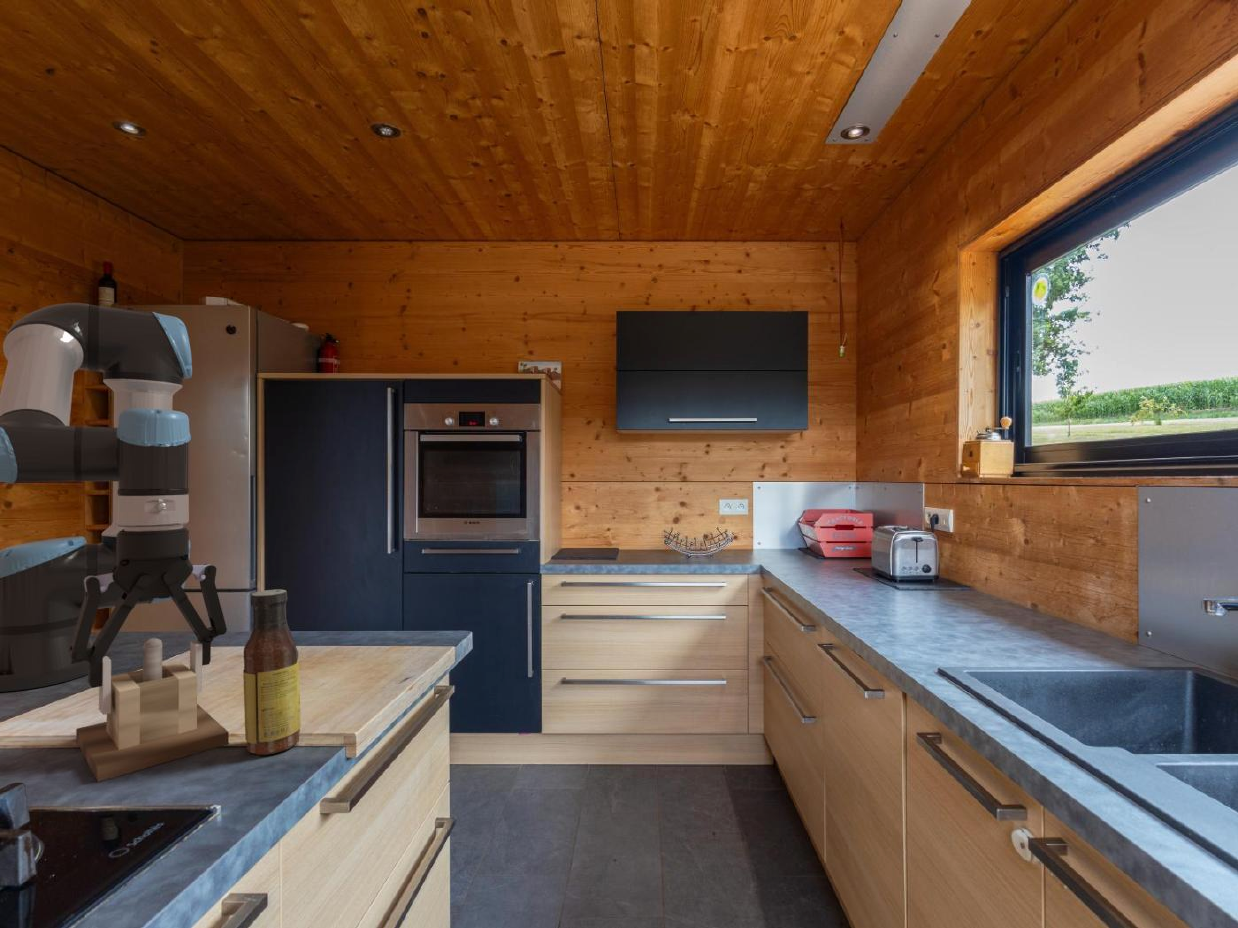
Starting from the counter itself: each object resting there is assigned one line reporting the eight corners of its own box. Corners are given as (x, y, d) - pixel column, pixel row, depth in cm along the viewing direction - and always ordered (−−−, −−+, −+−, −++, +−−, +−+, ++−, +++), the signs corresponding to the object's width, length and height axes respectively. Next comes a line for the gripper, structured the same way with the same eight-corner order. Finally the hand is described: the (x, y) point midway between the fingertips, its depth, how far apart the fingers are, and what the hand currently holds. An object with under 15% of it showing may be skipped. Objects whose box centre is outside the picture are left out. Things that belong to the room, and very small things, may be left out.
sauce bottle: (310, 736, 81) (311, 587, 81) (280, 758, 75) (281, 597, 75) (264, 734, 82) (265, 586, 82) (230, 756, 75) (231, 596, 76)
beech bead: (106, 730, 79) (107, 676, 79) (180, 712, 85) (180, 662, 85) (118, 749, 74) (119, 691, 74) (196, 728, 80) (197, 675, 80)
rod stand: (76, 740, 80) (77, 637, 80) (193, 710, 90) (194, 619, 90) (97, 781, 69) (99, 662, 69) (228, 743, 79) (229, 639, 79)
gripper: (44, 536, 69) (41, 735, 69) (255, 523, 85) (254, 685, 85) (36, 531, 74) (34, 717, 74) (237, 520, 90) (236, 673, 90)
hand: (152, 700), depth 79 cm, fingers open, 9 cm apart
